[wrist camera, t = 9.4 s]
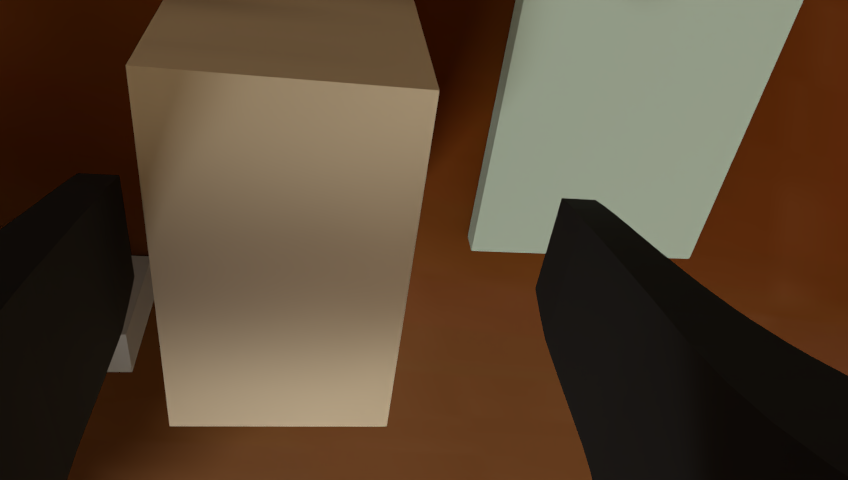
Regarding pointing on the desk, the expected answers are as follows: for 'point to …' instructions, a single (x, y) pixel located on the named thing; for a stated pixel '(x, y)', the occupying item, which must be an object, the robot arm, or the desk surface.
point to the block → (281, 202)
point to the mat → (622, 114)
